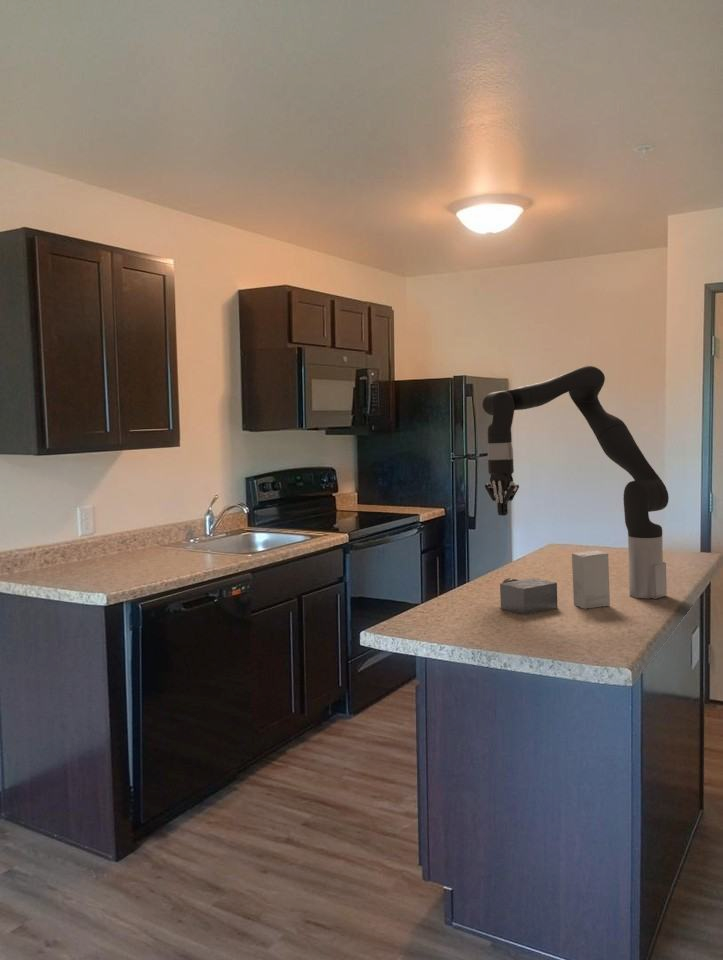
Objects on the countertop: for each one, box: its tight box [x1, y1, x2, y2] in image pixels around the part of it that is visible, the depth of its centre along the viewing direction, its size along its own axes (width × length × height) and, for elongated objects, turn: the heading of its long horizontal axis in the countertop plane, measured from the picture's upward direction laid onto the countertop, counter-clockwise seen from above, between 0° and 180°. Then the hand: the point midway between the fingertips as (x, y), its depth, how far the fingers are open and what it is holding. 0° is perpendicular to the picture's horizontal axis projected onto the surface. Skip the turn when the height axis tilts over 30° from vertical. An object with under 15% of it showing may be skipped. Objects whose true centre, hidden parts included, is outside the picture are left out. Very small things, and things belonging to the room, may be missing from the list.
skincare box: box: [571, 549, 611, 610], centre depth 214 cm, size 8×6×15 cm
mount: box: [499, 577, 559, 616], centre depth 215 cm, size 10×12×7 cm
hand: (502, 515), depth 236 cm, fingers closed
